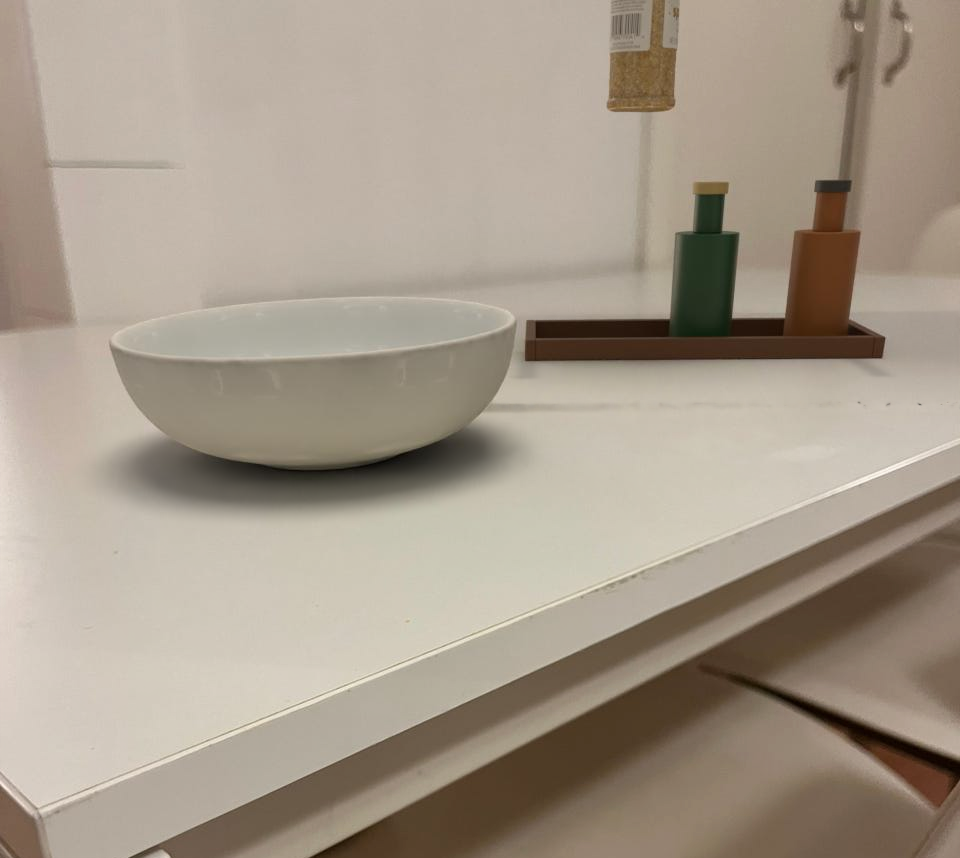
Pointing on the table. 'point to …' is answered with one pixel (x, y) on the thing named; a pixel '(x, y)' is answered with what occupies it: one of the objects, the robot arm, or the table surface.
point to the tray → (689, 341)
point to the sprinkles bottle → (643, 55)
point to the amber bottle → (823, 267)
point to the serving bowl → (316, 376)
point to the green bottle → (704, 269)
